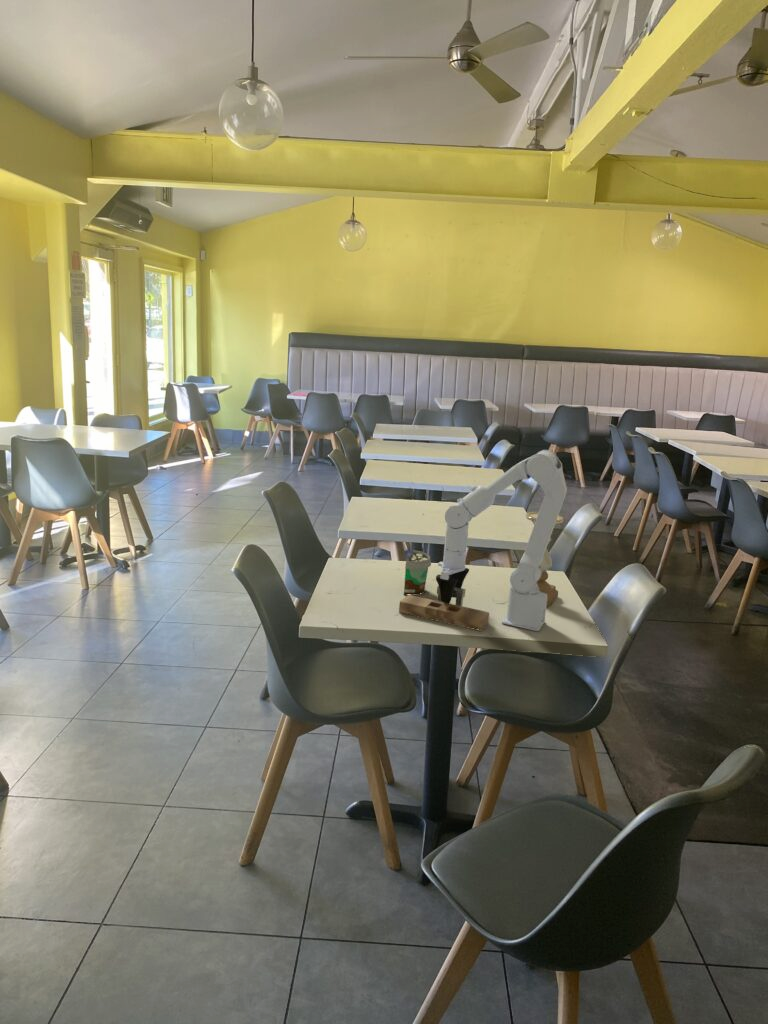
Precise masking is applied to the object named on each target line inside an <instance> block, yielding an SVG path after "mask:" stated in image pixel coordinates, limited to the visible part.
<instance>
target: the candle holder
mask: <svg viewBox="0 0 768 1024" xmlns="http://www.w3.org/2000/svg"><path fill="white" fill-rule="evenodd" d="M538 513H539V511H530V512H526V513H525V518H526V519H527V520H529V521H531V522H533V524H535V522H536V519H537V516H538ZM563 522H564V517H563V516H561V515H560V514H559V515H558V518H557V520H556V523H555V525H559V524H561V523H563ZM551 541H552V538H551V537H550V539H549V542H548V545H549V544H550V542H551ZM552 561H553V559H552V558H551V556H550V553H549V551H548V547H547V548H546V550H545V553H544V556H543V561H542V564H541V570H542V575H541V577H540V579H539V580H538V581H537V585H538V587H539V591H540V592H542V593H545V594H547V606H546V608H549V607H550V606H551V605H552V604H553V603H554V602H555V601H556V600H557V599H558V597H559V590H557V589H556V588H557V587H556V586H555V585H553V584H549V582H548V581H547V580H548V578H549V574H548V572H547V571H548V570H550V569H551V568H552V566H553V562H552Z"/></svg>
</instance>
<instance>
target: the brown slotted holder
mask: <svg viewBox="0 0 768 1024" xmlns="http://www.w3.org/2000/svg"><path fill="white" fill-rule="evenodd" d="M398 606H399V608H398V613H399V612H401V613H400V614H403V613H406V614H405V615H408V614H411V615H410V616H412V615H414V616H413V617H417V616H419V617H418V618H421V617H423V618H422V619H425V618H428V619H427V620H430V619H433V620H432V621H434V620H438V621H437V622H439V621H442V622H441V623H443V622H446V623H445V624H447V623H450V624H449V625H452V624H454V625H453V626H456V625H459V626H458V627H461V626H464V627H463V628H465V627H469V628H474V629H479V630H482V629H483V628H484V627H485V626H486V627H487V626H488V625H489V619H490V612H489V611H486V610H485V611H484V610H480V609H476V608H472V607H467V606H464V605H462V606H458V605H455V604H454V603H453V604H452V603H444V602H440V601H438V600H434V599H430V598H426V597H420V596H418V595H405V597H403V599H401V600H400V601H399V605H398ZM486 627H485V628H486ZM469 628H468V629H469ZM485 628H484V629H485ZM474 629H473V630H474ZM484 629H483V630H484ZM483 630H482V631H483Z"/></svg>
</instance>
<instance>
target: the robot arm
mask: <svg viewBox="0 0 768 1024" xmlns="http://www.w3.org/2000/svg"><path fill="white" fill-rule="evenodd" d="M529 479H533V481H535V483H537V484H539V486H540V488H541V490H542V491H543V493H544V497H543V499H542V502H541V504H540V508H539V511H538V512H539V513H538V516H537V519H536V522H535V524H534V523H533V524H534V525H533V527H532V530H531V533H530V536H529V539H528V541H527V544H526V547H525V550H524V552H523V554H522V556H521V559H520V560H519V564H518V566H517V567H516V568H515V569H514V570H513V571H512V573H511V574H510V577H509V582H510V587H509V594H508V595H509V596H508V603H507V613H506V616H504V618H503V619H502V621H501V624H504V625H508V626H513V627H516V628H521V629H526V630H529V631H533V632H534V631H535V632H539V631H540V630H541V629H542V627H543V625H544V624H545V622H546V611H547V607H546V606H547V594H545V593H542V592H540V591H539V587H538V585H537V581H538V580H539V579H540V577H541V575H542V570H541V564H542V561H543V556H544V553H545V550H546V548H547V549H548V545H549V544H548V542H549V539H550V538H551V536H552V533H553V532H554V528H555V526H556V524H555V523H556V520H557V518H558V515H559V516H560V512H561V509H562V507H563V503H564V501H565V499H566V496H567V493H568V487H567V483H566V479H565V474H564V471H563V462H561V460H560V459H559V456H558V455H557V454H556V453H555V452H553V451H552V450H549V449H542V450H540V451H538V452H537V453H535V454H533V455H531V456H530V457H527V458H525V459H523V460H521V461H519V462H518V463H516V464H515V465H513V466H512V467H510V468H509V469H508V470H507V471H505V472H504V473H503V474H502V475H501V476H499V477H498V478H496V479H495V480H494V481H492V482H491V483H490V484H489V485H483V484H481V485H479V486H477V485H474V486H473V487H472V488H471V489H470V490H471V492H469V493H468V494H467V495H465V496H464V497H460V498H458V499H457V500H456V501H457V502H456V503H455V504H453V505H451V506H449V507H448V508H447V509H446V511H445V513H444V520H445V522H446V529H445V539H444V547H443V559H442V561H439V562H438V565H437V566H439V567H441V571H440V574H436V576H435V581H436V582H437V585H438V586H439V589H440V594H441V601H442V602H444V603H449V604H451V601H452V598H453V597H452V594H453V590H454V587H457V588H463V584H464V580H466V577H467V575H468V574H469V572H470V568H468V567H466V559H467V558H466V557H467V546H468V539H469V538H468V537H469V523H470V522H471V521H472V519H473V518H476V517H477V516H478V515H480V514H481V513H483V512H484V511H485V510H487V509H488V508H489V507H491V506H492V505H494V504H495V498H496V496H497V495H499V494H500V493H501V492H503V491H504V490H505V489H507V488H508V487H510V486H512V485H513V484H514V483H516V482H517V481H519V480H529ZM549 543H550V542H549Z"/></svg>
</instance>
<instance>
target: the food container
mask: <svg viewBox="0 0 768 1024" xmlns="http://www.w3.org/2000/svg"><path fill="white" fill-rule="evenodd" d="M430 557H431V556H430V555H429V554H427V553H425V552H423V551H419V550H415V549H413V550H412V555H411V556H409V559H408V560H405V567H404V569H405V572H404V588H403V595H404V594H419V595H421V594H420V593H422V594H424V593H425V589H426V582H427V577H428V572H429V567H431V565H432V562H431V558H430ZM423 592H424V593H423Z"/></svg>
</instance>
